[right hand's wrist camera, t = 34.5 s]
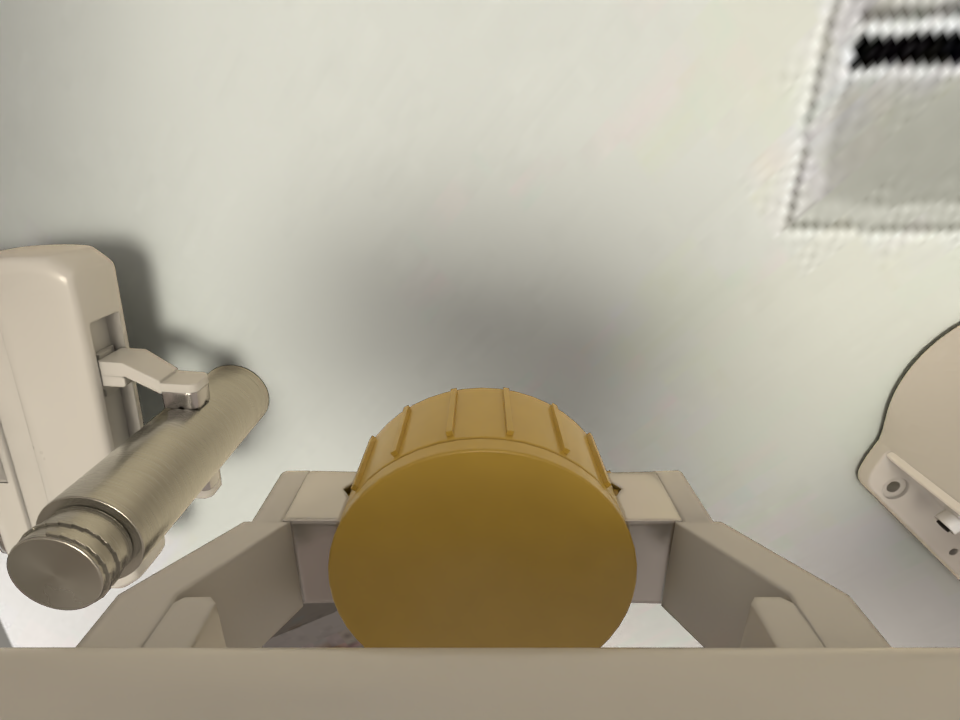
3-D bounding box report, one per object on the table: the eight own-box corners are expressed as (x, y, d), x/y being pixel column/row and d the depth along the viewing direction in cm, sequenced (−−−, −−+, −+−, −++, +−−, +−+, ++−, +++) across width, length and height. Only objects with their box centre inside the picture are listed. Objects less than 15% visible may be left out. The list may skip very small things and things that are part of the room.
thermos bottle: (267, 429, 36) (116, 626, 21) (202, 418, 36) (1, 610, 21) (270, 371, 34) (110, 539, 19) (202, 359, 34) (-14, 520, 19)
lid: (508, 328, 9) (515, 378, 7) (660, 518, 11) (701, 604, 9) (300, 480, 10) (256, 560, 8) (463, 633, 12) (459, 732, 10)
